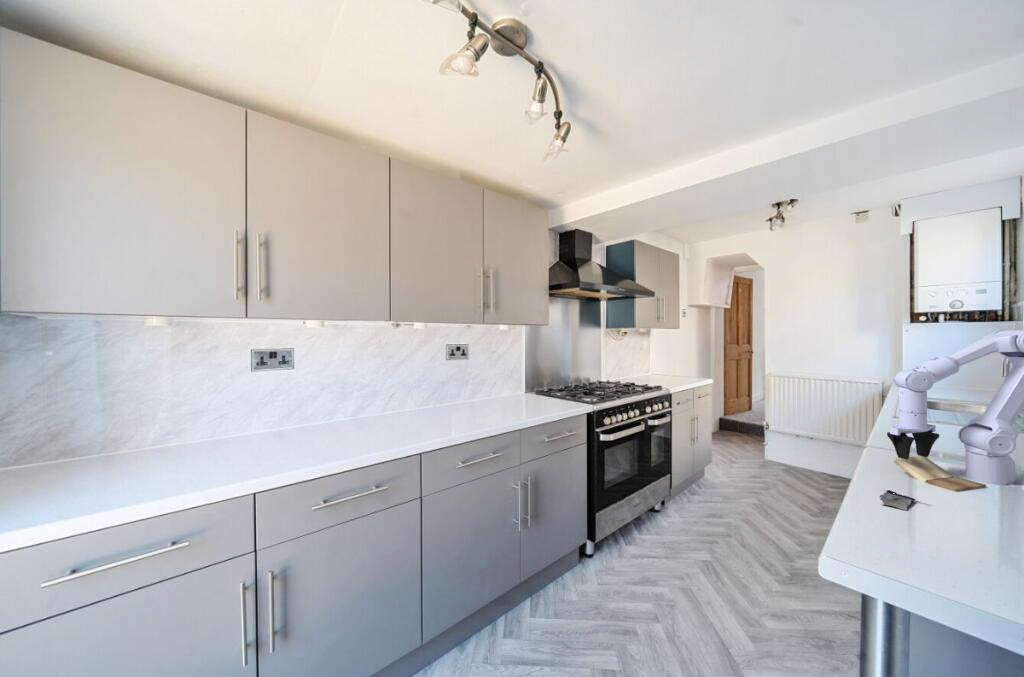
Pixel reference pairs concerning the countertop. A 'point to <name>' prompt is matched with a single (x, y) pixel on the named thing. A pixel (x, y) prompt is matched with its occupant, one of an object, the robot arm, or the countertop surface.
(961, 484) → the floor row
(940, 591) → the countertop surface
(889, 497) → the driftwood
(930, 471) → the plank
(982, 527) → the countertop surface
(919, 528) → the countertop surface
